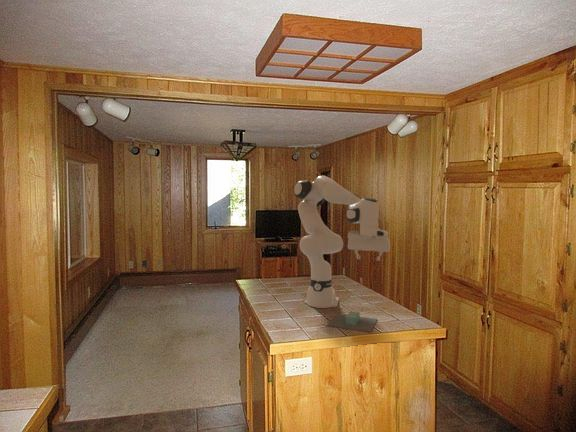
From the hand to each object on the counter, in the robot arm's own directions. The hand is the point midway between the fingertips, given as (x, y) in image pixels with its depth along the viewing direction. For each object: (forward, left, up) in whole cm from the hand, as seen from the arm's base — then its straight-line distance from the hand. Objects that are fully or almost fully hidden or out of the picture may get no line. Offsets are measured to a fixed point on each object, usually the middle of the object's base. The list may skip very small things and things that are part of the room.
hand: (368, 259), depth 186 cm
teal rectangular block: (+9, -5, -29) cm, 30 cm away
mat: (+9, -5, -29) cm, 31 cm away
